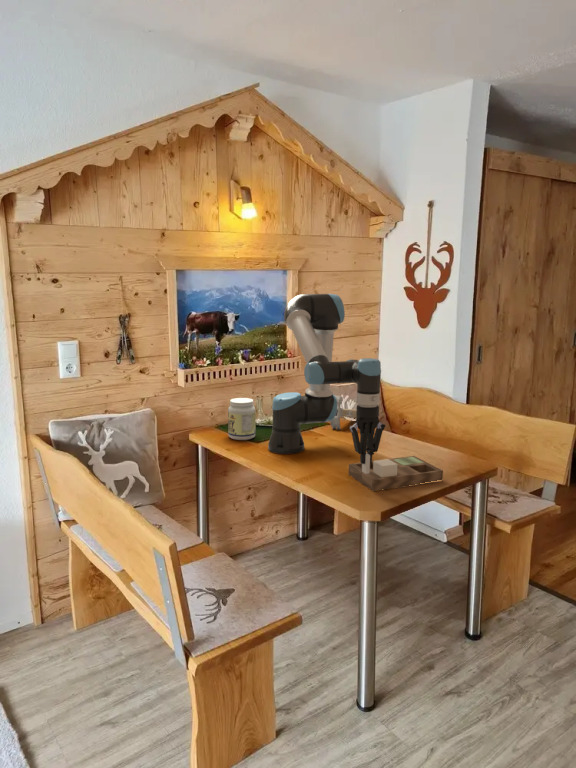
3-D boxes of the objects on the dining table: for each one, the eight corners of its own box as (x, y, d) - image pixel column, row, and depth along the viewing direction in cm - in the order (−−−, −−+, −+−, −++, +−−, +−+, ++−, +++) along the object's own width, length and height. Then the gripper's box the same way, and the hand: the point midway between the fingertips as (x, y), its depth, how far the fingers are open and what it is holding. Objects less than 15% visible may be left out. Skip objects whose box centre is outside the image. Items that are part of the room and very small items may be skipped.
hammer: (355, 398, 293) (331, 395, 267) (364, 399, 291) (340, 396, 265) (352, 428, 293) (327, 428, 267) (360, 429, 291) (336, 429, 265)
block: (381, 477, 194) (382, 466, 193) (372, 471, 199) (373, 460, 199) (397, 475, 196) (397, 464, 195) (387, 469, 202) (388, 459, 201)
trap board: (373, 491, 192) (373, 480, 191) (348, 474, 208) (348, 464, 208) (442, 481, 202) (443, 470, 201) (413, 465, 218) (414, 455, 218)
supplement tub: (224, 435, 259) (223, 398, 256) (249, 432, 264) (248, 396, 261) (234, 442, 248) (234, 404, 245) (259, 438, 253) (259, 401, 250)
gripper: (355, 408, 185) (353, 478, 189) (390, 405, 189) (387, 473, 194) (345, 404, 191) (343, 471, 196) (379, 401, 196) (376, 466, 200)
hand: (365, 472), depth 195 cm, fingers closed
